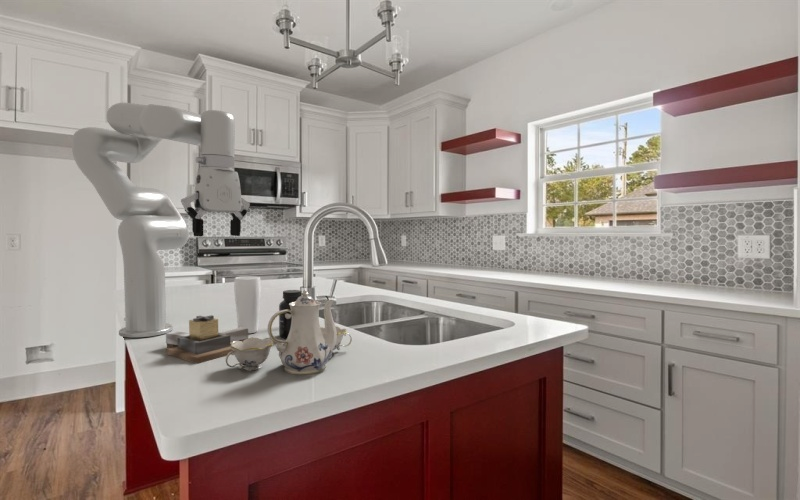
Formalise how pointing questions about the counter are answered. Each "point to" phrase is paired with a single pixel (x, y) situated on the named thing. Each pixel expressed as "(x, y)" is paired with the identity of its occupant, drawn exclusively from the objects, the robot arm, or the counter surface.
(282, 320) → the supplement bottle
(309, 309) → the chinaware
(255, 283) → the drinking glass
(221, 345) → the shaft rig
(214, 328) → the block
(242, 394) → the counter surface
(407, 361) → the counter surface
